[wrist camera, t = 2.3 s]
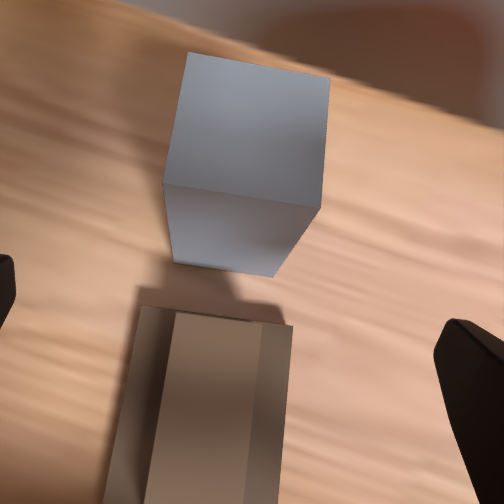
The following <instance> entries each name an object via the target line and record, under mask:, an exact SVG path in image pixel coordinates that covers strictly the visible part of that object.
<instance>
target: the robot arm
mask: <svg viewBox="0 0 504 504" xmlns="http://www.w3.org/2000/svg"><path fill="white" fill-rule="evenodd" d="M15 297H16V283H15V271H14V262H13V259H12V258H11V257H10V256H9V255H5V254H0V329H1V327H2V325H3V323H4V321H5V319H6V317H7V315H8V313H9V311H10V309H11V307H12V305H13V303H14V301H15ZM433 357H434V363H435V367H436V371H437V375H438V379H439V383H440V387H441V391H442V395H443V399H444V403H445V407H446V410H447V414H448V418H449V421H450V424H451V427H452V430H453V433H454V436H455V439H456V441H457V444H458V447H459V450H460V452H461V455H462V458H463V460H464V463H465V466H466V469H467V471H468V474H469V477H470V479H471V482H472V485H473V487H474V490H475V493H476V496H477V498H478V501H479V504H504V341H502V340H501V339H499V338H497V337H496V336H494V335H492V334H491V333H489V332H487V331H486V330H484V329H483V328H481V327H479V326H478V325H476V324H474V323H473V322H471V321H468V320H462V319H455V318H452V319H450V320H448V321H447V322H446V324H445V326H444V328H443V330H442V333H441V335H440V337H439V339H438V341H437V344H436V346H435V348H434V354H433Z"/></svg>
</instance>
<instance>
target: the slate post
mask: <svg viewBox="0 0 504 504" xmlns="http://www.w3.org/2000/svg"><path fill="white" fill-rule="evenodd" d="M329 90H330V78H327V77H322V76H316V75H311V74H306V73H300V72H295V71H289V70H284V69H279V68H273V67H268V66H262V65H257V64H252V63H246V62H241V61H235V60H230V59H225V58H219V57H214V56H208V55H203V54H198V53H192V52H188V55H187V60H186V65H185V70H184V75H183V80H182V85H181V90H180V95H179V100H178V105H177V111H176V116H175V121H174V126H173V131H172V136H171V141H170V146H169V151H168V156H167V161H166V166H165V171H164V176H163V181H162V185H163V192H164V199H165V206H166V212H167V219H168V226H169V233H170V239H171V246H172V253H173V260H174V263H176V264H183V265H190V266H196V267H203V268H210V269H217V270H224V271H231V272H238V273H244V274H251V275H258V276H265V277H272V278H273V277H274V275H275V274H276V272H277V271H278V269H279V268H280V267H281V265H282V264H283V262H284V261H285V259H286V258H287V256H288V255H289V254H290V252H291V251H292V249H293V248H294V246H295V245H296V243H297V242H298V240H299V239H300V238H301V236H302V235H303V233H304V232H305V230H306V229H307V227H308V226H309V224H310V223H311V222H312V220H313V219H314V217H315V216H316V214H317V213H318V211H319V210H320V209H321V198H322V184H323V171H324V157H325V144H326V130H327V117H328V103H329Z"/></svg>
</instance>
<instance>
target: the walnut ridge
mask: <svg viewBox="0 0 504 504" xmlns="http://www.w3.org/2000/svg"><path fill="white" fill-rule="evenodd" d="M292 334H293V326H290V325H282V324H275V323H268V322H260V321H253V320H246V319H239V318H231V317H224V316H217V315H209V314H202V313H195V312H188V311H180V310H173V309H166V308H158V307H151V306H144V305H141V310H140V315H139V320H138V325H137V330H136V335H135V340H134V345H133V350H132V355H131V360H130V366H129V371H128V376H127V381H126V386H125V391H124V396H123V401H122V406H121V411H120V417H119V422H118V427H117V432H116V437H115V442H114V447H113V452H112V457H111V462H110V467H109V473H108V478H107V483H106V488H105V493H104V498H103V503H102V504H278V494H279V483H280V471H281V460H282V448H283V437H284V425H285V414H286V402H287V391H288V379H289V368H290V356H291V345H292Z"/></svg>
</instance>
